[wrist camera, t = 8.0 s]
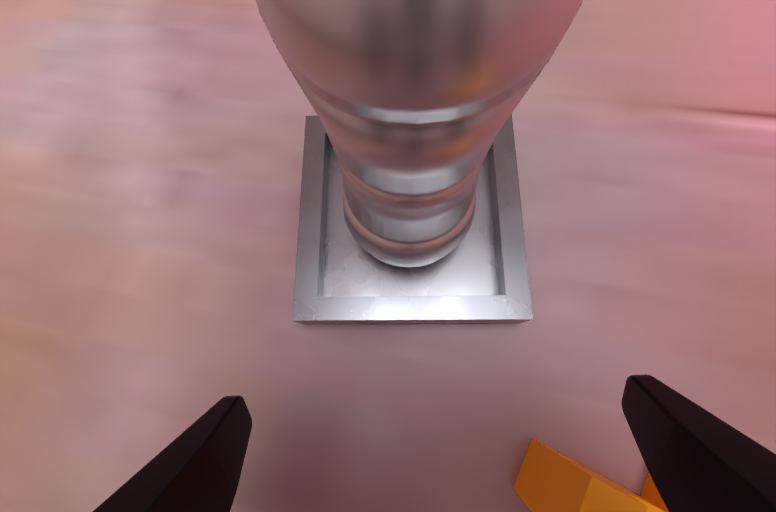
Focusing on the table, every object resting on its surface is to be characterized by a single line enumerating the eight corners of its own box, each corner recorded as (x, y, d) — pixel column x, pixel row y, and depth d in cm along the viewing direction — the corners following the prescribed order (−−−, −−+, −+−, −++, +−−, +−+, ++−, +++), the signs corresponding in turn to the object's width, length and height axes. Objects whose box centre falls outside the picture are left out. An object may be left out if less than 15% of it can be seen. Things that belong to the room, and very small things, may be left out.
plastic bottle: (363, 164, 23) (115, -940, 3) (474, 181, 22) (953, -1071, 3) (339, 264, 21) (-398, -750, 2) (458, 286, 20) (1355, -962, 1)
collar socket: (519, 323, 20) (532, 319, 18) (304, 324, 21) (292, 320, 19) (501, 132, 24) (511, 109, 21) (315, 138, 24) (306, 116, 22)
